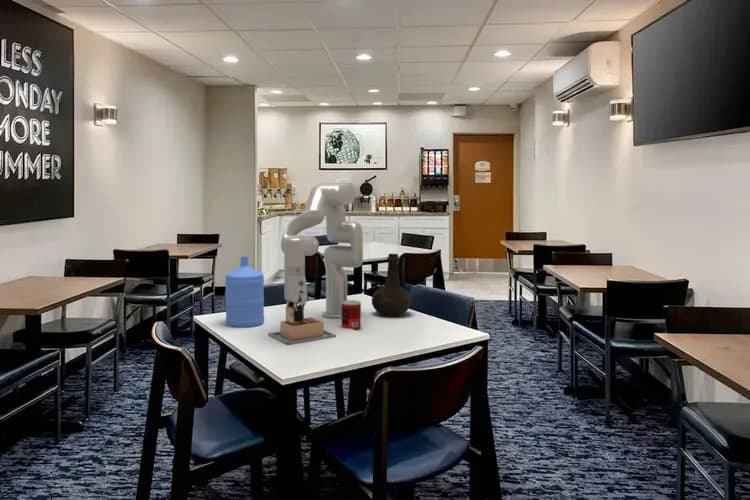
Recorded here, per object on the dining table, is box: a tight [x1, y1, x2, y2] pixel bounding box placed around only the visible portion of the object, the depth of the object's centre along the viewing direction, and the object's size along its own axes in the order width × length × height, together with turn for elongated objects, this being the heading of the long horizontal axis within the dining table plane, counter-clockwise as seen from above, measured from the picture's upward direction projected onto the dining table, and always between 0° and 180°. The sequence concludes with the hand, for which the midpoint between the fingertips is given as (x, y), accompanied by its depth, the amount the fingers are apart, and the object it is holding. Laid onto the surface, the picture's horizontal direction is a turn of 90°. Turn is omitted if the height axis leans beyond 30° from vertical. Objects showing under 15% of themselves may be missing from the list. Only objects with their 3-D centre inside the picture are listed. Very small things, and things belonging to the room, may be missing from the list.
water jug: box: [224, 256, 265, 328], centre depth 222 cm, size 16×16×28 cm
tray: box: [267, 329, 337, 346], centre depth 200 cm, size 20×16×2 cm
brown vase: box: [371, 253, 412, 317], centre depth 242 cm, size 18×18×28 cm
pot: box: [279, 317, 325, 341], centre depth 200 cm, size 13×9×6 cm
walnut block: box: [300, 319, 318, 325], centre depth 201 cm, size 5×5×5 cm
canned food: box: [341, 299, 362, 331], centre depth 216 cm, size 8×8×11 cm
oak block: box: [285, 305, 305, 323], centre depth 197 cm, size 5×5×5 cm
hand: (294, 319), depth 198 cm, fingers closed on oak block, 5 cm apart
